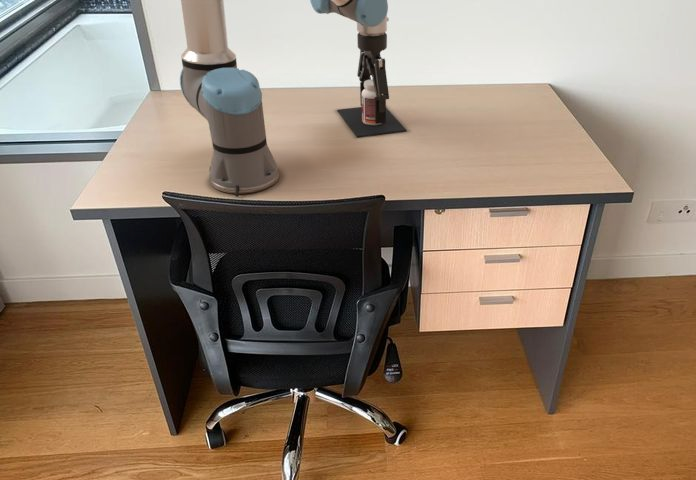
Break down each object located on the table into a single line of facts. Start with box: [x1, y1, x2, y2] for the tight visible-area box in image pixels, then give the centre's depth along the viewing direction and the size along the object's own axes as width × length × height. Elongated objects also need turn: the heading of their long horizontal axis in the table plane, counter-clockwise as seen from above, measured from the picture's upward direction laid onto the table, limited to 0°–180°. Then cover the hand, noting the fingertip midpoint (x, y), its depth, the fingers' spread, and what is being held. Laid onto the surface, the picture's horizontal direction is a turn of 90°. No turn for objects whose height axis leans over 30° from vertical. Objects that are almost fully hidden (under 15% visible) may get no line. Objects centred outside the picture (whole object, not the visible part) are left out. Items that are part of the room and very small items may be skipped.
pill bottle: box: [361, 78, 383, 125], centre depth 159 cm, size 6×6×11 cm
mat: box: [337, 106, 408, 138], centre depth 164 cm, size 20×14×1 cm
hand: (372, 113), depth 161 cm, fingers open, 13 cm apart
